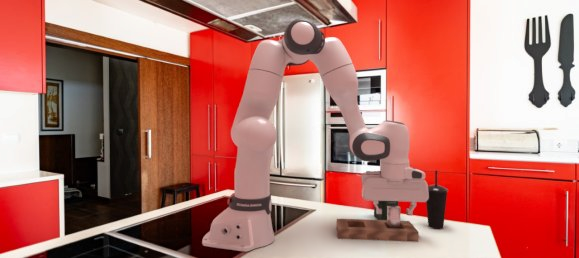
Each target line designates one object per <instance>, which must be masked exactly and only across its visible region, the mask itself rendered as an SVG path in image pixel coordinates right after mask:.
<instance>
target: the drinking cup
mask: <svg viewBox="0 0 579 258" xmlns="http://www.w3.org/2000/svg"><path fill="white" fill-rule="evenodd" d="M428 192H429V199H428V200H427V201H426V202H425V205H426V215H427V216H426V217H427V224H428V227H429V228H431V229H434V230H443V229H444V226H445V216H446V206H447V196H448V192H449V189H448V188H446V187H444V185H443V186H442V185H439V184H438V170H434V184H430V185H428Z"/></svg>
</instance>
